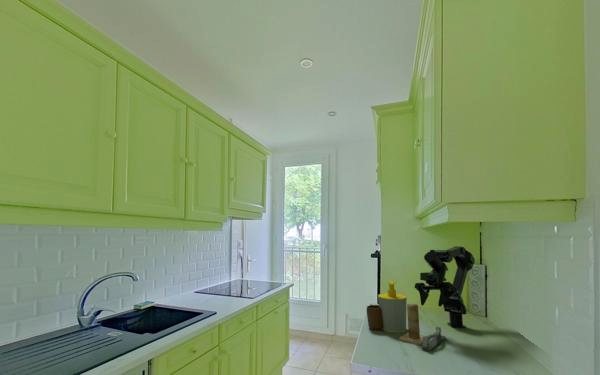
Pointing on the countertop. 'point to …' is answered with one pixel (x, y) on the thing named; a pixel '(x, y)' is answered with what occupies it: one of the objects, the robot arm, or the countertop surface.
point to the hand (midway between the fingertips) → (430, 305)
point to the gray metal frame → (433, 340)
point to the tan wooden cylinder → (413, 321)
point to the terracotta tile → (415, 341)
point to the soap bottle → (393, 310)
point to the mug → (374, 317)
